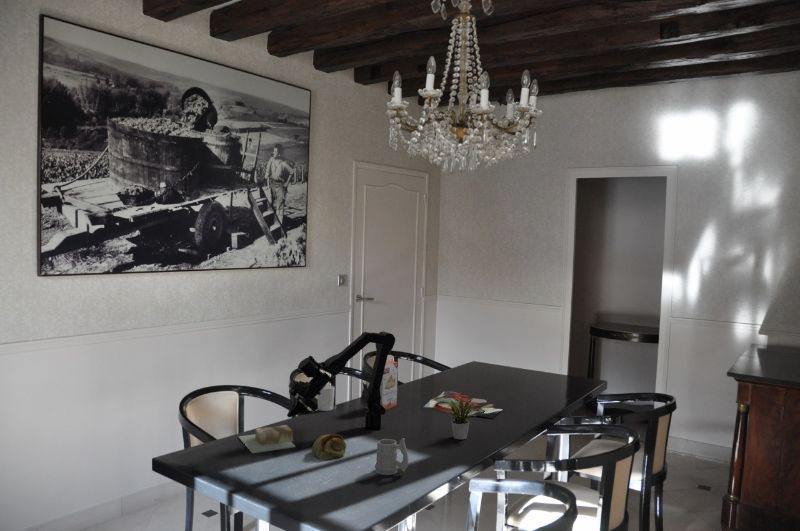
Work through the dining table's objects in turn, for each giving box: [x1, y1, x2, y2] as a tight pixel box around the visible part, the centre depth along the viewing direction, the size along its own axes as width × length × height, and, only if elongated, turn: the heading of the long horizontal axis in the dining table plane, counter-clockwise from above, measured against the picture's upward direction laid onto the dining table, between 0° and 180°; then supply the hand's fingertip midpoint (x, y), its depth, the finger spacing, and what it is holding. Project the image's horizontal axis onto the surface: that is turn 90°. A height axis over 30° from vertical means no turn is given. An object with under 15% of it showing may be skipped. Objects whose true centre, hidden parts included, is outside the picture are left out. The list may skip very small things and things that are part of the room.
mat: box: [238, 433, 296, 454], centre depth 233 cm, size 16×20×1 cm
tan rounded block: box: [254, 424, 294, 445], centre depth 234 cm, size 4×8×12 cm
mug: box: [374, 437, 409, 476], centre depth 204 cm, size 8×12×12 cm, turn 63°
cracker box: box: [372, 360, 399, 411], centre depth 284 cm, size 14×6×21 cm, turn 151°
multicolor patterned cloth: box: [423, 390, 503, 420], centre depth 292 cm, size 35×35×2 cm
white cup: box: [316, 384, 336, 412], centre depth 281 cm, size 8×8×10 cm
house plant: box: [445, 396, 477, 440], centre depth 243 cm, size 14×14×16 cm
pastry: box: [311, 433, 347, 461], centre depth 221 cm, size 14×12×8 cm
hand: (287, 416), depth 237 cm, fingers closed
